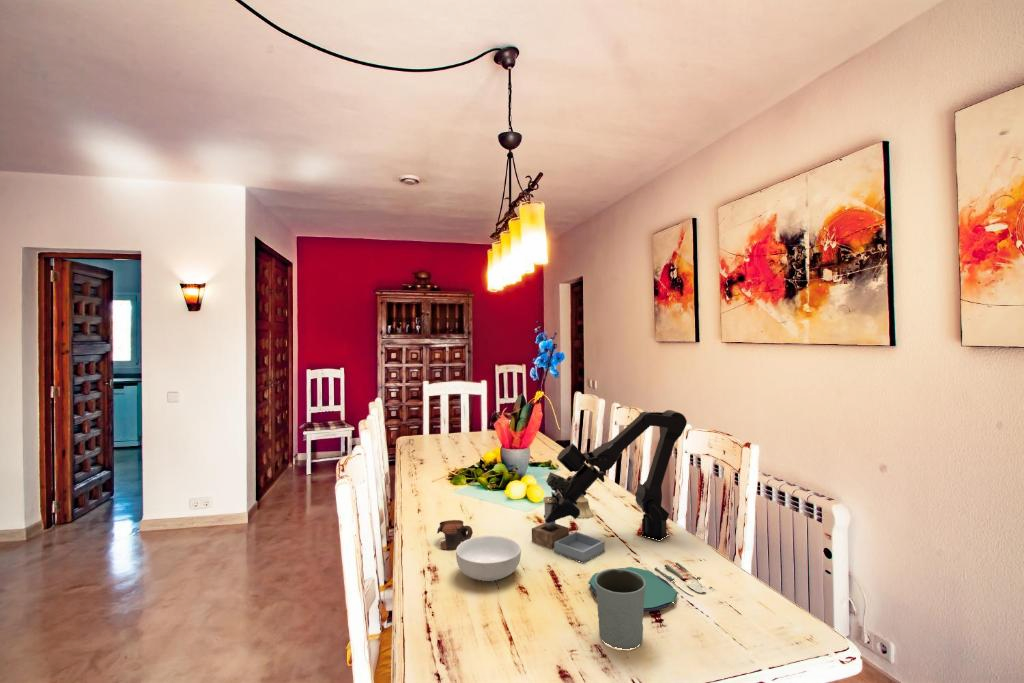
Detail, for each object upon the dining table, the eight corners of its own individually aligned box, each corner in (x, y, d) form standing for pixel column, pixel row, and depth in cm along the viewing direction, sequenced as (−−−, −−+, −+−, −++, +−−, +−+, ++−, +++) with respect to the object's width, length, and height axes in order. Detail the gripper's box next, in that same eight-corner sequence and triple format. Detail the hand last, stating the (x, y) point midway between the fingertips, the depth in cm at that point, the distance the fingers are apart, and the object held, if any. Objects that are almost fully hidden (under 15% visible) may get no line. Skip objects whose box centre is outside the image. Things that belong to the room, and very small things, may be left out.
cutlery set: (575, 582, 123) (575, 573, 123) (674, 564, 133) (674, 556, 133) (617, 626, 104) (618, 615, 104) (729, 601, 114) (729, 592, 114)
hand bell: (595, 518, 167) (594, 471, 167) (571, 518, 167) (570, 472, 167) (592, 510, 175) (591, 465, 175) (568, 510, 175) (568, 466, 175)
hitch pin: (559, 541, 148) (558, 498, 148) (551, 545, 146) (550, 501, 146) (549, 537, 151) (549, 495, 151) (541, 541, 148) (540, 498, 148)
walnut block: (569, 541, 148) (568, 527, 148) (551, 549, 143) (551, 535, 143) (549, 534, 154) (548, 521, 154) (531, 541, 148) (531, 528, 148)
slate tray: (604, 551, 140) (604, 541, 140) (583, 563, 133) (583, 552, 133) (576, 541, 148) (576, 531, 148) (554, 552, 140) (554, 542, 140)
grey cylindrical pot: (638, 623, 105) (637, 567, 105) (653, 653, 95) (652, 591, 95) (591, 625, 104) (590, 569, 104) (601, 655, 94) (600, 593, 94)
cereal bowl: (462, 595, 117) (461, 566, 117) (451, 565, 134) (451, 539, 134) (529, 585, 122) (529, 556, 122) (511, 557, 138) (511, 532, 138)
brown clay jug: (430, 551, 144) (430, 522, 148) (447, 554, 151) (447, 526, 156) (466, 545, 140) (465, 515, 144) (481, 548, 148) (480, 520, 152)
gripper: (556, 456, 158) (523, 492, 157) (568, 472, 139) (530, 512, 138) (580, 480, 159) (547, 515, 158) (595, 498, 140) (558, 539, 139)
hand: (545, 519), depth 148 cm, fingers closed on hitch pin, 3 cm apart
